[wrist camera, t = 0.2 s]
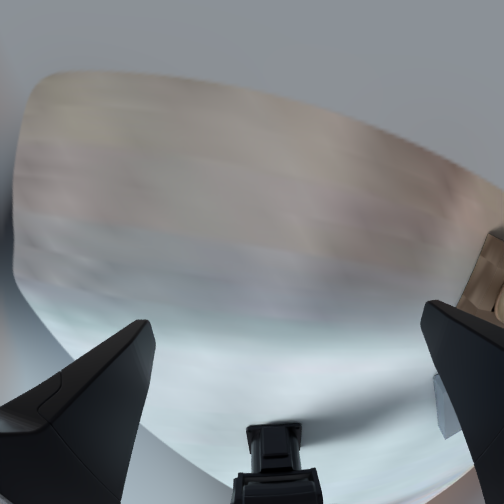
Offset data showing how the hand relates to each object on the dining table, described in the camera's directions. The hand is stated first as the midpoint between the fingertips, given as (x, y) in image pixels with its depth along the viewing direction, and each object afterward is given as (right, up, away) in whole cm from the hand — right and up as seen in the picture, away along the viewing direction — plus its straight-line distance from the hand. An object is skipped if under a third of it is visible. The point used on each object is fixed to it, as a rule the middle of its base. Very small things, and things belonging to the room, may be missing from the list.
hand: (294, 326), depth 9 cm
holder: (+25, -1, +16) cm, 30 cm away
